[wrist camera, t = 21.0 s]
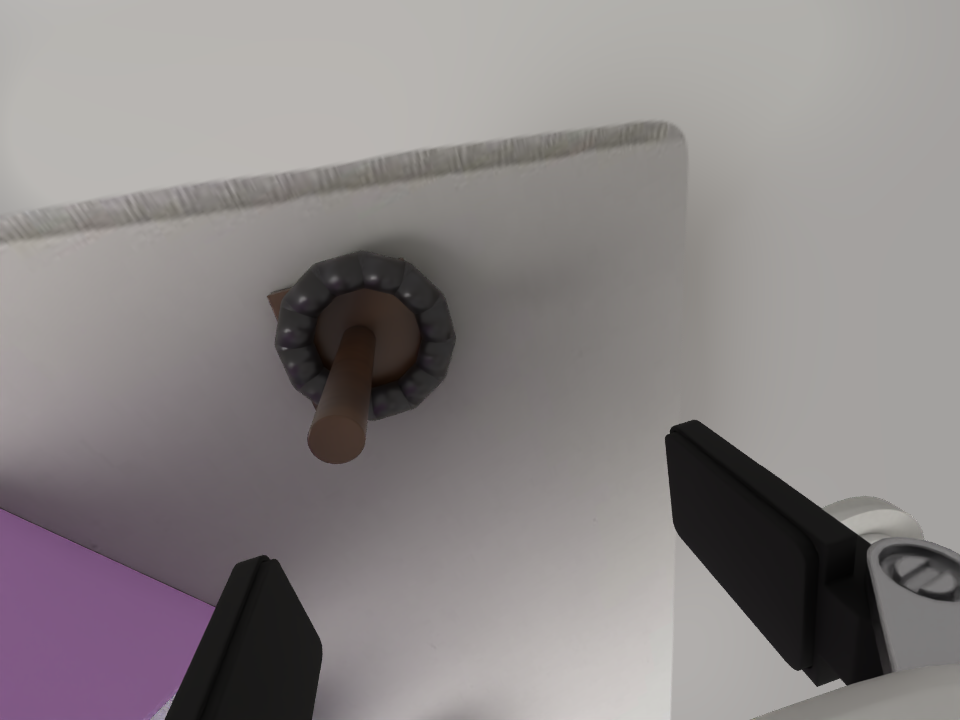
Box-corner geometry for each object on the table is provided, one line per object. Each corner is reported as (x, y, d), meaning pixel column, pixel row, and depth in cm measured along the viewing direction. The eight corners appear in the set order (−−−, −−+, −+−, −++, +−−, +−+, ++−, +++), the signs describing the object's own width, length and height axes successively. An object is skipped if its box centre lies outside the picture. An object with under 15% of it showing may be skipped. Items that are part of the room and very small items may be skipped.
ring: (425, 231, 25) (427, 233, 24) (468, 383, 29) (473, 395, 27) (251, 279, 25) (240, 285, 23) (319, 429, 28) (314, 445, 26)
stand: (403, 257, 27) (413, 304, 15) (438, 374, 30) (470, 493, 18) (270, 292, 26) (167, 373, 14) (320, 409, 29) (270, 558, 17)
